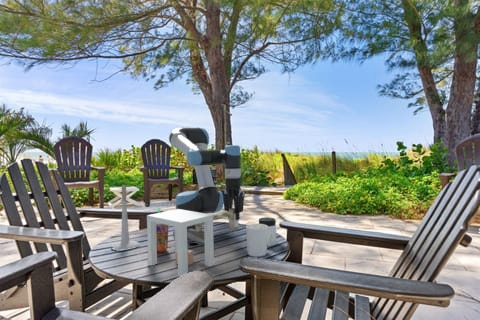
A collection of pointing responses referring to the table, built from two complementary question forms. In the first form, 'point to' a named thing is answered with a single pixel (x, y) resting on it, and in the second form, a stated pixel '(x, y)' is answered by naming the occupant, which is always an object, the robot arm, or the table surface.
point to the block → (190, 257)
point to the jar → (270, 229)
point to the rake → (199, 234)
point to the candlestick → (124, 226)
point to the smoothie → (161, 236)
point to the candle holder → (256, 239)
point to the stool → (180, 235)
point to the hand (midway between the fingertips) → (233, 225)
